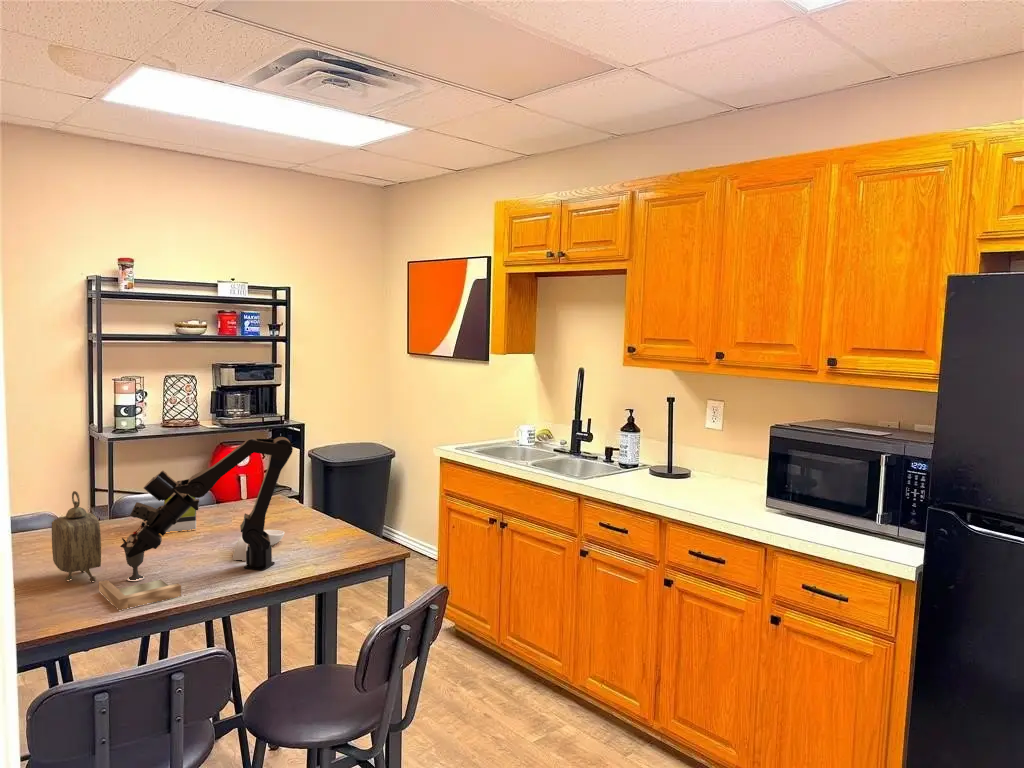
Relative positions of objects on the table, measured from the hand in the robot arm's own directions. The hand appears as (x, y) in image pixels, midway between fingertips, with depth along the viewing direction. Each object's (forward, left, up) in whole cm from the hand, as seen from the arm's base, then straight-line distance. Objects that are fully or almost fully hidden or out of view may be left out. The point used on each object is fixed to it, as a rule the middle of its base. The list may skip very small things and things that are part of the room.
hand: (129, 552), depth 203 cm
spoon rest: (-18, -34, -8) cm, 39 cm away
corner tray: (-11, +9, -8) cm, 16 cm away
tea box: (+22, -49, -8) cm, 54 cm away
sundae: (-1, -1, -8) cm, 8 cm away
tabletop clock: (+14, +4, -8) cm, 16 cm away
